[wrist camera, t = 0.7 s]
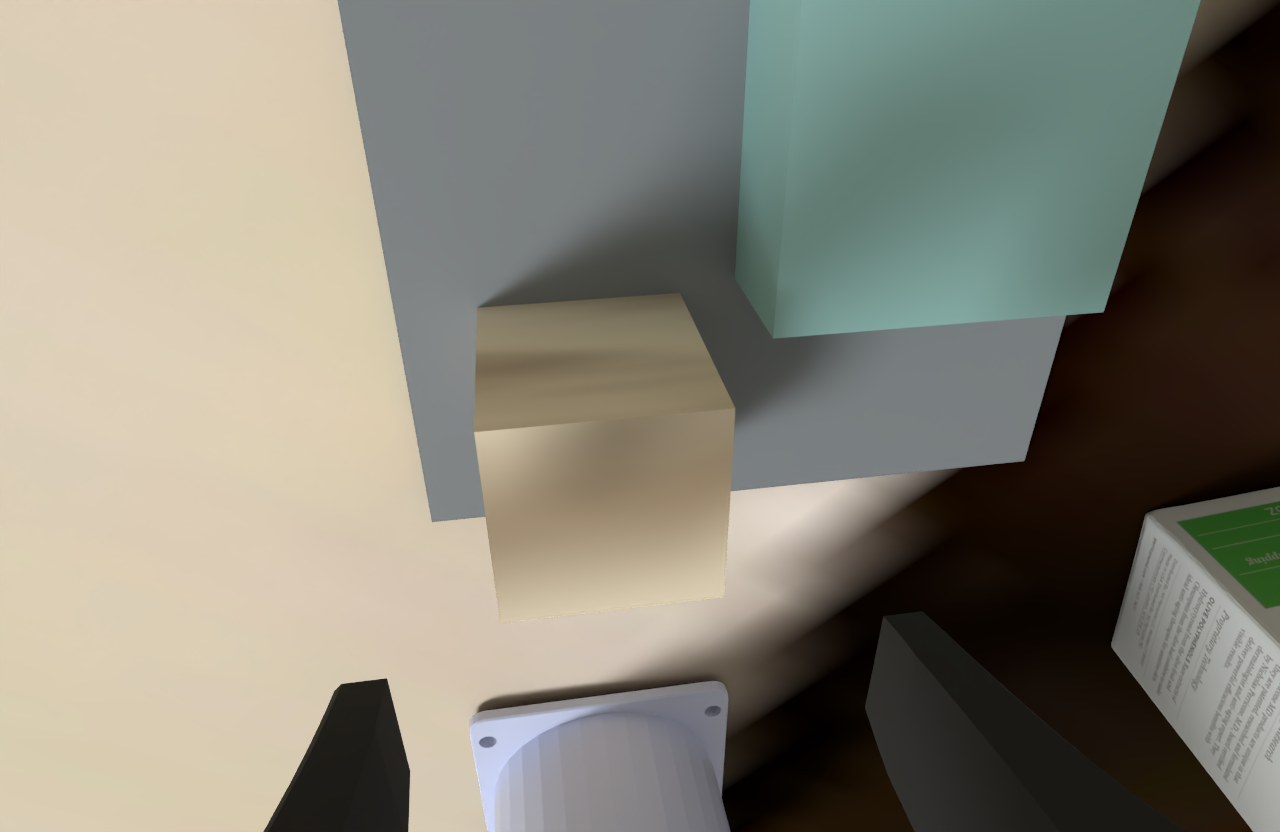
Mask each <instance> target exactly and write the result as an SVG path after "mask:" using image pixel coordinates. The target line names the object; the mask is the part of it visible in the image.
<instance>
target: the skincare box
mask: <svg viewBox="0 0 1280 832" xmlns="http://www.w3.org/2000/svg"><path fill="white" fill-rule="evenodd" d="M1111 646H1112V648H1113V650H1114V651H1115V652H1116V654H1117V655H1118V656H1119V658H1120V659H1121V660H1122V662H1123V663H1124V664H1125V666H1126V667H1127V668H1128V669H1129V671H1130V672H1131V673H1132V675H1133V676H1134V677H1135V679H1136V680H1137V681H1138V682H1139V684H1140V685H1141V686H1142V688H1143V689H1144V690H1145V691H1146V693H1147V694H1148V695H1149V697H1150V698H1151V699H1152V701H1153V702H1154V703H1155V705H1156V706H1157V707H1158V709H1159V710H1160V711H1161V712H1162V714H1163V715H1164V716H1165V718H1166V719H1167V720H1168V722H1169V723H1170V724H1171V725H1172V727H1173V728H1174V729H1175V731H1176V732H1177V733H1178V734H1179V736H1180V737H1181V738H1182V740H1183V741H1184V742H1185V743H1186V745H1187V746H1188V747H1189V749H1190V750H1191V751H1192V753H1193V754H1194V755H1195V756H1196V758H1197V759H1198V760H1199V762H1200V763H1201V764H1202V766H1203V767H1204V768H1205V769H1206V771H1207V772H1208V773H1209V775H1210V776H1211V777H1212V779H1213V780H1214V781H1215V782H1216V784H1217V785H1218V786H1219V788H1220V789H1221V790H1222V792H1223V793H1224V794H1225V795H1226V797H1227V798H1228V799H1229V801H1230V802H1231V803H1232V805H1233V806H1234V807H1235V808H1236V810H1237V811H1238V812H1239V814H1240V815H1241V816H1242V818H1243V819H1244V820H1245V821H1246V823H1247V824H1248V825H1249V827H1250V828H1251V829H1252V830H1253V832H1280V487H1275V488H1270V489H1265V490H1259V491H1254V492H1249V493H1244V494H1239V495H1234V496H1229V497H1224V498H1218V499H1213V500H1208V501H1202V502H1197V503H1192V504H1187V505H1182V506H1175V507H1169V508H1163V509H1158V510H1154V511H1151V512H1149V513H1146V515H1145V519H1144V523H1143V527H1142V530H1141V534H1140V538H1139V542H1138V546H1137V550H1136V554H1135V557H1134V561H1133V565H1132V569H1131V573H1130V576H1129V580H1128V584H1127V588H1126V591H1125V595H1124V599H1123V602H1122V606H1121V610H1120V614H1119V617H1118V621H1117V625H1116V629H1115V632H1114V636H1113V640H1112V643H1111Z"/></svg>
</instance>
